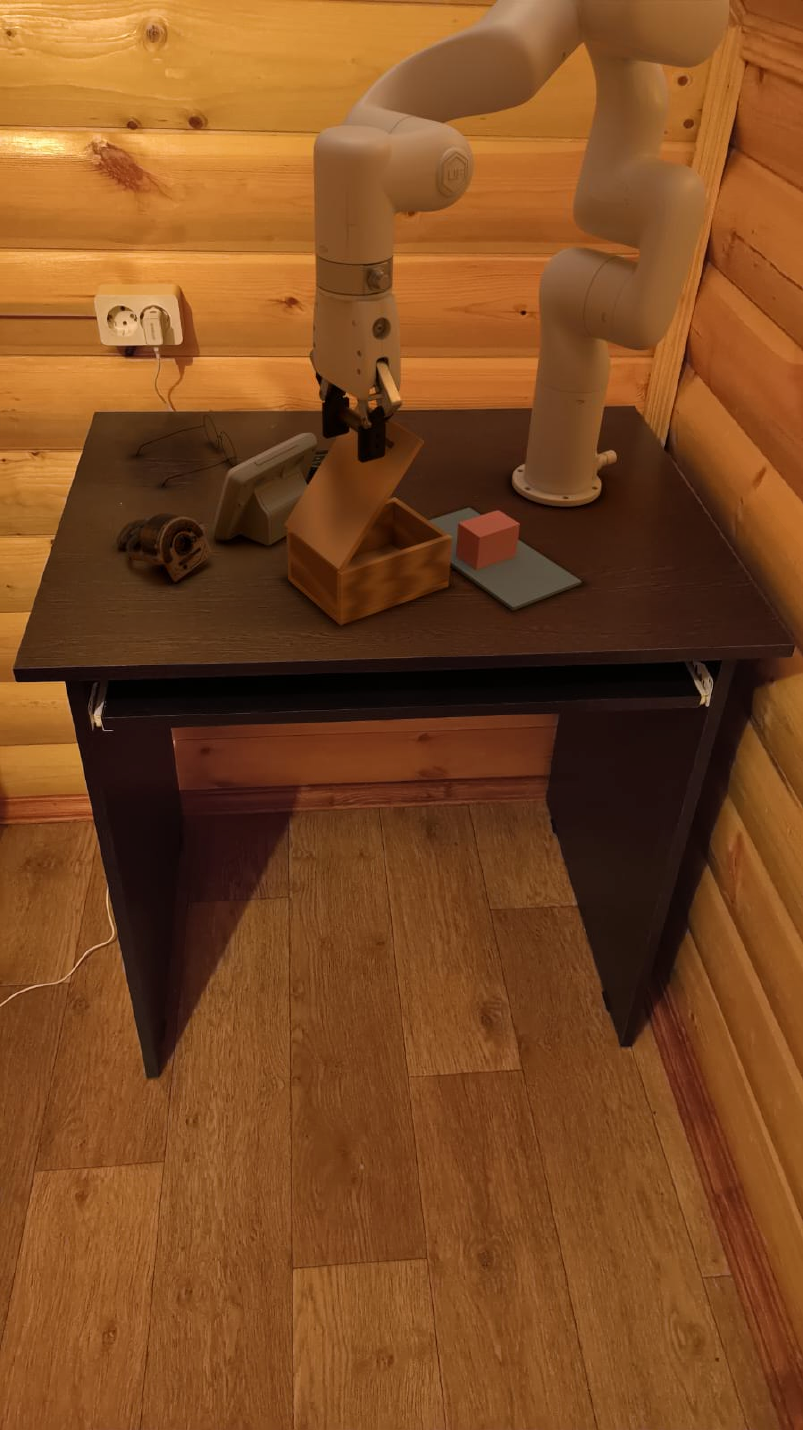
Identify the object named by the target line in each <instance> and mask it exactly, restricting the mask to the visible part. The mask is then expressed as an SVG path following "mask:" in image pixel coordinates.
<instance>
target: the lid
mask: <svg viewBox="0 0 803 1430" xmlns="http://www.w3.org/2000/svg"><path fill="white" fill-rule="evenodd" d="M369 409H370V413H371V412H372V411H373V410H374V408H372V407H370V406H369ZM337 419H338V420H339V421H340V422H342V423H343V424H345V425H346V426H348V427H349V432H348V433H347V434H343V435H340V436H336V437H335V440H334V442H333V443H332V445H331V447H330V449H328V450H329V452H328V453H327V455H326V457H325V458H324V460H323V462H322V463H321V465H320V466H319V468H318V470H317V471H316V473H315V475H314V476H313V478H312V480H311V481H310V483H309V485H308V486H307V488H306V490H305V491H304V493H303V494H302V496H301V498H300V499H299V501H298V503H297V504H296V506H295V508H294V509H293V511H292V513H291V514H290V516H289V518H288V519H287V521H286V522H285V524H284V526H286V527H287V528H288V529H289V530H291V531H292V532H293V533H294V534H295V535H297V536H298V537H299V538H300V539H302V540H303V541H304V542H305V543H306V544H308V545H309V546H310V547H311V548H313V549H314V550H315V551H316V552H317V553H319V554H320V555H321V556H322V557H324V558H325V559H326V560H327V561H328V562H330V563H331V564H332V565H333V566H335V567H336V568H337V569H338V570H340V571H342V572H343V571H344V569H345V568H346V566H347V564H348V563H349V561H350V560H351V558H352V556H353V555H354V553H355V552H356V550H357V549H358V547H359V545H360V544H361V542H362V541H363V539H364V537H365V536H366V534H367V533H368V531H369V529H370V528H371V526H372V525H373V523H374V521H375V520H376V518H377V517H378V515H379V513H380V512H381V510H382V509H383V507H384V505H385V504H386V502H387V501H388V499H390V498H391V496H392V494H393V493H394V491H395V489H396V488H397V486H398V485H399V483H400V481H401V480H402V478H403V477H404V475H405V473H406V472H407V470H408V469H409V467H410V466H411V464H412V463H413V461H414V459H415V458H416V456H417V454H419V451H420V450H421V448H422V447H423V445H424V444H425V440H423V439H422V438H420V437H418V436H417V435H415V434H414V433H412V432H410V431H409V430H407V429H406V428H404V427H403V426H401V425H399V424H398V423H396V422H394V421H393V420H391V419H390V421H389V423H386V442H385V455H384V457H382V458H378V459H375V460H371V461H368V462H364V463H361V462H360V461H359V460H358V426H360V425H362V422H361V417H360V412H359V407H358V403H357V404H356V406H355V407H354V409H353V408H352V407H351V406H349V407H348V406H342V407H340V408H339V410H338V411H337Z"/></svg>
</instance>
